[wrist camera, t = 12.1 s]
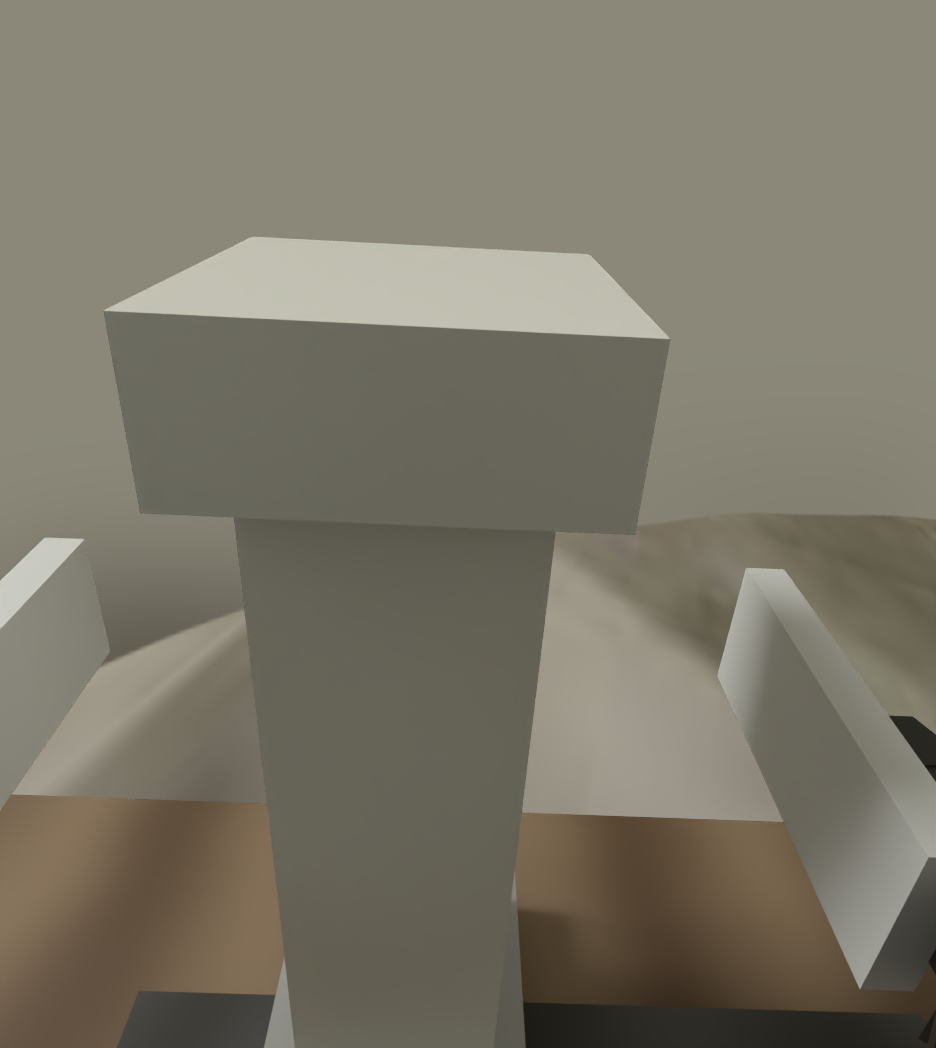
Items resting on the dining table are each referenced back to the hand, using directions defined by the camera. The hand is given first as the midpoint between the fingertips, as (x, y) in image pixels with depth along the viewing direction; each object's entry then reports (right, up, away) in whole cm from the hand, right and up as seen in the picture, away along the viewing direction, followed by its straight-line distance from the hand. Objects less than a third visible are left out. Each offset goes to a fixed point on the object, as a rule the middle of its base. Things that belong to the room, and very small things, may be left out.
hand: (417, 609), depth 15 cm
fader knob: (0, -9, +1) cm, 9 cm away
